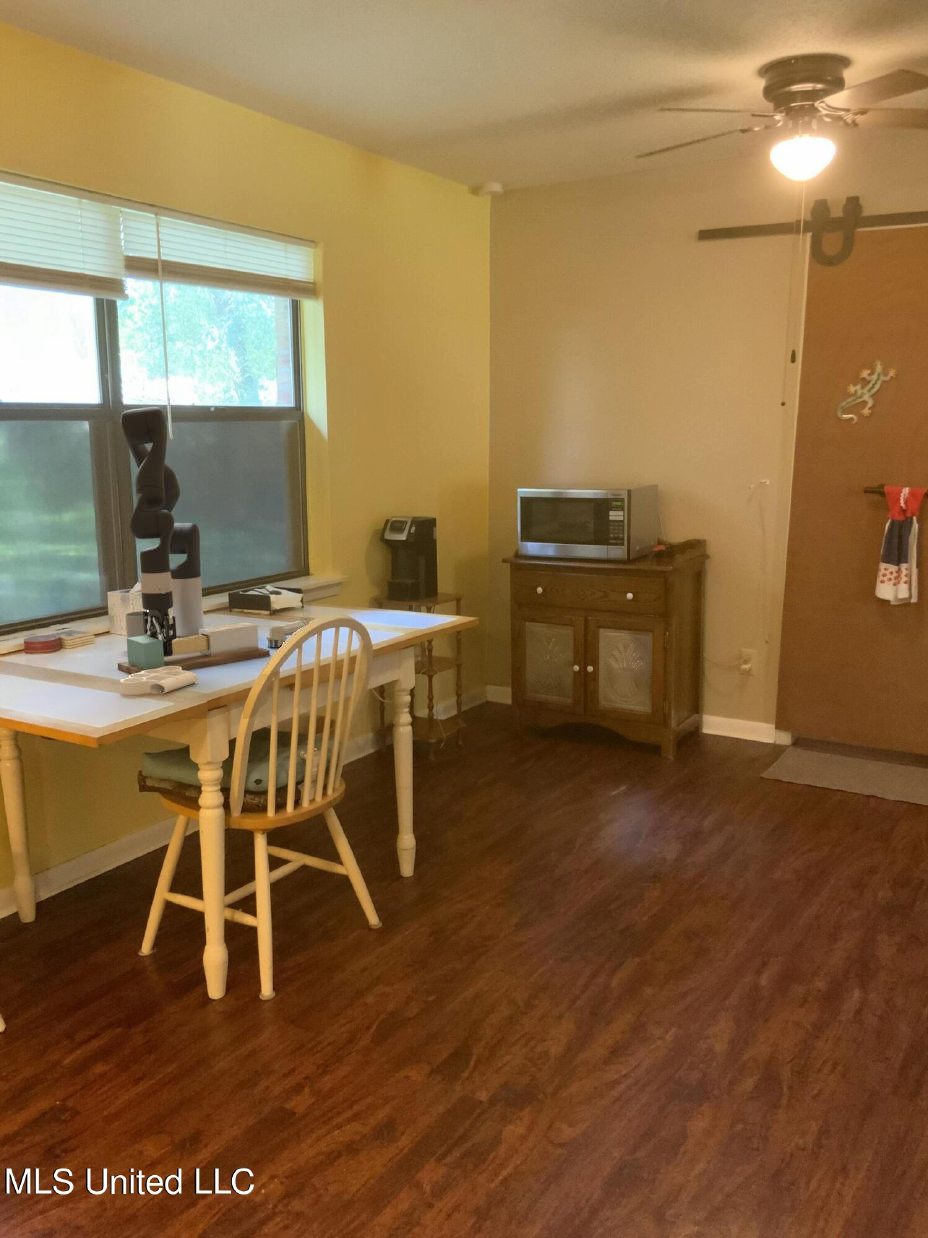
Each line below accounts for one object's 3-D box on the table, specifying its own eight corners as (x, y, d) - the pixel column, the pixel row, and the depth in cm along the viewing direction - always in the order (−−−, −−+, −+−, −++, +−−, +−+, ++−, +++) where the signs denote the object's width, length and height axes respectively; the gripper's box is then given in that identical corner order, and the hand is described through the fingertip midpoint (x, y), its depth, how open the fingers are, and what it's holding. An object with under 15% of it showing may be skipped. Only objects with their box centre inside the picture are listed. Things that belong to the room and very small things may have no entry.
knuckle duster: (156, 700, 232) (106, 694, 238) (207, 682, 248) (159, 677, 254) (154, 685, 231) (105, 680, 237) (206, 668, 247) (158, 664, 253)
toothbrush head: (312, 619, 308) (281, 623, 283) (312, 641, 308) (281, 647, 284) (295, 619, 309) (263, 622, 284) (295, 641, 309) (263, 646, 285)
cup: (154, 651, 283) (151, 615, 282) (124, 652, 283) (121, 616, 282) (162, 645, 292) (160, 610, 290) (133, 646, 292) (131, 611, 290)
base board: (117, 668, 262) (117, 663, 262) (243, 648, 286) (243, 642, 285) (141, 677, 252) (141, 671, 252) (269, 655, 275) (269, 650, 275)
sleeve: (200, 653, 273) (198, 629, 272) (247, 645, 282) (246, 622, 281) (211, 656, 268) (209, 631, 267) (258, 648, 277) (257, 624, 276)
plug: (138, 657, 260) (137, 643, 260) (217, 645, 275) (216, 631, 274) (145, 660, 257) (144, 645, 257) (224, 647, 272) (223, 633, 271)
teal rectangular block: (128, 663, 262) (126, 638, 261) (147, 660, 265) (145, 635, 264) (145, 669, 254) (143, 643, 253) (164, 666, 258) (162, 640, 257)
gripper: (130, 588, 262) (135, 651, 265) (155, 594, 252) (159, 660, 254) (158, 585, 267) (162, 647, 270) (183, 590, 256) (188, 655, 259)
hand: (161, 653), depth 262 cm, fingers open, 7 cm apart
